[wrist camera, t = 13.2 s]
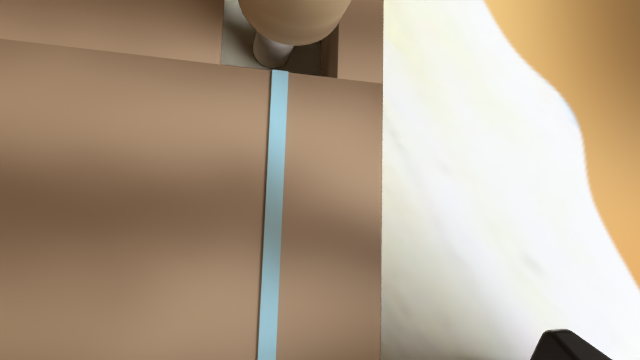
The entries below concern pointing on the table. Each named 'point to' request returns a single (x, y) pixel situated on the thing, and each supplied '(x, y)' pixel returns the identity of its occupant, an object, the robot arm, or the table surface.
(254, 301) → the subfloor panel
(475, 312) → the table surface
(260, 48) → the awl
